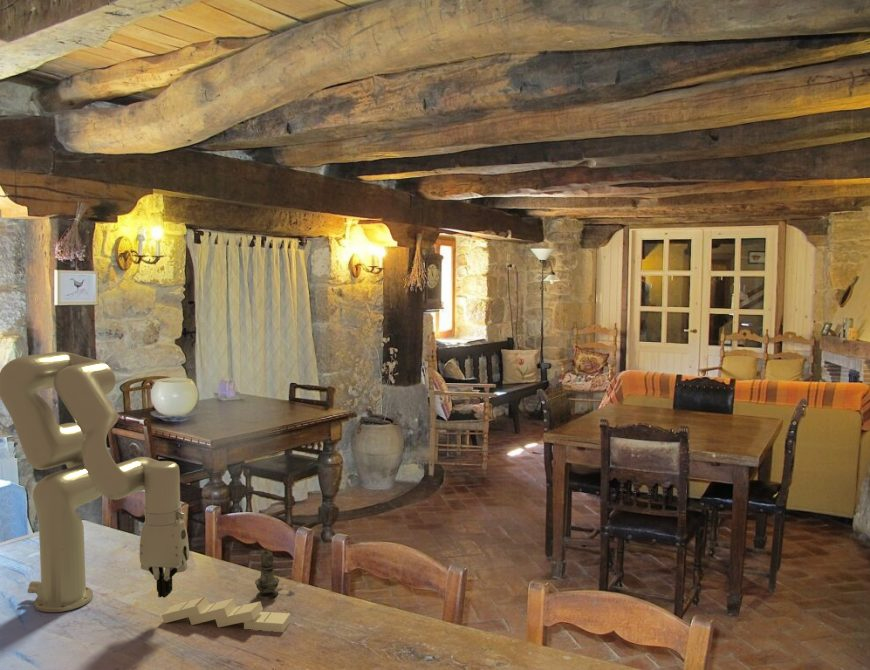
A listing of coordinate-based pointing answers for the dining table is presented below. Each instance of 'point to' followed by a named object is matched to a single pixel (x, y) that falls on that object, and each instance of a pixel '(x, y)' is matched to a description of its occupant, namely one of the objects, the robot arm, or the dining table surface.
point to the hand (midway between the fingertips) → (164, 594)
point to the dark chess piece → (267, 578)
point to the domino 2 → (214, 611)
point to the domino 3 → (241, 614)
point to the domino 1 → (185, 609)
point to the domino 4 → (269, 622)
